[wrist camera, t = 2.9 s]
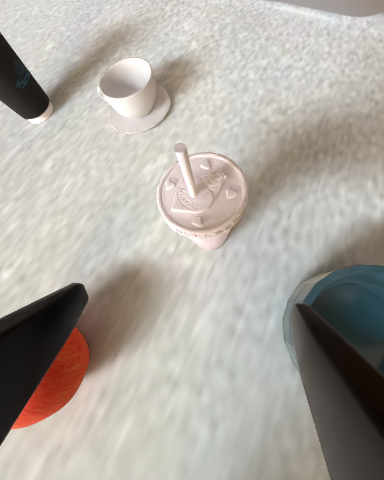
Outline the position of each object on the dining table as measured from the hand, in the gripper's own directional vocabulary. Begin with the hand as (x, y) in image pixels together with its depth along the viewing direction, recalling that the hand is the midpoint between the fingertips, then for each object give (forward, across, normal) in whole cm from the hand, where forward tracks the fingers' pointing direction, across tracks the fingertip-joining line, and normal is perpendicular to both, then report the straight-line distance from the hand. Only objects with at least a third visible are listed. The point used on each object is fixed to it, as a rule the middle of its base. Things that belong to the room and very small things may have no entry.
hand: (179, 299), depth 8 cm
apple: (+4, +14, +14) cm, 21 cm away
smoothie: (+14, 0, +4) cm, 15 cm away
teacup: (+28, +12, -10) cm, 32 cm away
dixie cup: (+29, +30, -10) cm, 44 cm away
